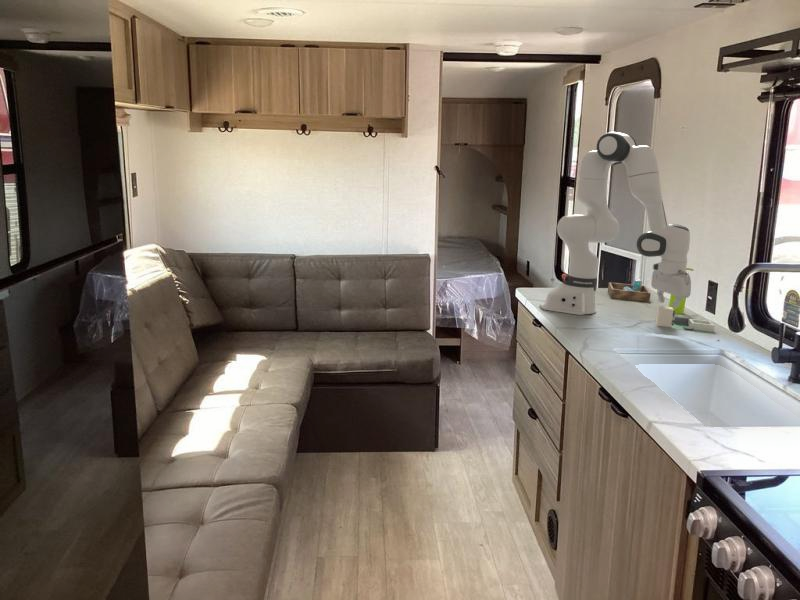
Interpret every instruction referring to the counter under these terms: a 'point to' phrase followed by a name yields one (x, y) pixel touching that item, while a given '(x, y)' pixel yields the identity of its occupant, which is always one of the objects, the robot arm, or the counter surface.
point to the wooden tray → (628, 292)
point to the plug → (664, 316)
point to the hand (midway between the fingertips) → (668, 304)
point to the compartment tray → (696, 326)
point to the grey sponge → (680, 319)
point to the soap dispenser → (681, 304)
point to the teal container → (635, 286)
